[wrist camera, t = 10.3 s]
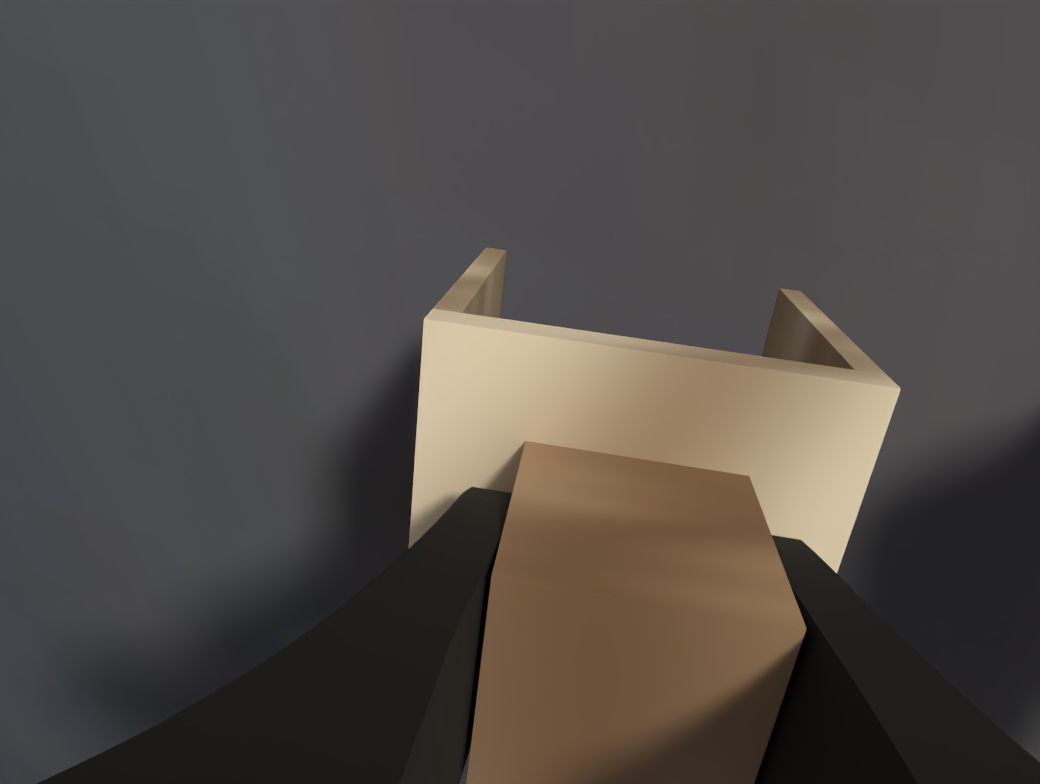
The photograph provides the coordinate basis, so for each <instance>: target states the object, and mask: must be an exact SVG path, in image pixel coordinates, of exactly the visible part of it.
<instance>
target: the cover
mask: <svg viewBox="0 0 1040 784" xmlns="http://www.w3.org/2000/svg"><path fill="white" fill-rule="evenodd" d="M506 252H507V250H500V249H493V248H485V250H484V251H483V252H482V253H481V254H480V255H479V256H478V258H477V259H476V260H475V261H474V262H473V263H472V264H471V266H470V267H469V268H468V269H467V270H466V271H465V272H464V274H463V275H462V276H461V277H460V278H459V279H458V280H457V282H456V283H455V284H454V285H453V286H452V287H451V288H450V290H449V291H448V292H447V293H446V294H445V295H444V296H443V298H442V299H441V300H440V301H439V302H438V303H437V304H436V306H435V307H434V308H433V309H432V310H431V311H430V312H429V314H428V315H427V316H426V317H425V318H424V326H423V341H422V356H421V371H420V386H419V401H418V417H417V432H416V447H415V462H414V477H413V492H412V508H411V523H410V538H409V548H410V547H411V546H412V545H413V544H414V543H415V542H416V541H417V540H419V539H420V538H421V537H422V536H423V535H424V534H425V533H426V532H427V531H428V530H429V529H430V528H431V527H432V526H433V525H434V524H435V523H436V522H437V520H438V519H439V518H440V517H441V516H442V515H443V514H444V513H445V512H446V511H447V510H448V509H449V508H450V507H451V505H452V504H453V503H454V502H455V501H456V500H457V499H458V497H459V496H460V495H461V494H462V493H463V492H464V491H466V490H467V489H469V488H471V487H477V488H483V489H489V490H496V491H502V492H508V493H512V496H511V500H510V504H509V508H508V512H507V516H506V520H505V524H504V528H503V532H502V536H501V540H500V544H499V548H498V552H497V556H496V560H495V564H494V568H493V572H492V576H491V584H490V592H489V601H488V609H487V617H486V625H485V634H484V642H483V650H482V658H481V667H480V675H479V683H478V691H477V700H476V708H475V716H474V725H473V733H472V741H471V749H470V758H469V766H468V774H467V782H466V784H754V783H755V780H756V777H757V774H758V771H759V768H760V765H761V762H762V759H763V756H764V753H765V750H766V747H767V744H768V741H769V738H770V735H771V733H772V730H773V727H774V724H775V721H776V718H777V715H778V712H779V709H780V706H781V703H782V700H783V697H784V694H785V691H786V688H787V685H788V682H789V679H790V676H791V673H792V670H793V668H794V665H795V662H796V659H797V656H798V653H799V650H800V647H801V644H802V641H803V638H804V635H805V632H806V629H807V628H806V626H805V623H804V620H803V618H802V615H801V613H800V610H799V607H798V605H797V602H796V599H795V597H794V594H793V591H792V589H791V586H790V583H789V581H788V578H787V575H786V573H785V570H784V567H783V565H782V562H781V559H780V557H779V554H778V551H777V549H776V546H775V543H774V541H773V538H772V535H775V536H781V537H787V538H793V539H799V540H802V541H803V542H804V543H805V544H806V545H807V546H809V547H810V548H811V549H812V550H813V551H814V552H815V553H816V554H817V555H818V556H819V557H820V558H821V559H822V560H823V561H824V562H826V563H827V564H828V565H829V566H830V567H831V568H832V569H833V570H834V571H835V572H836V573H837V572H838V569H839V566H840V563H841V560H842V557H843V555H844V552H845V549H846V546H847V543H848V540H849V537H850V534H851V531H852V529H853V526H854V523H855V520H856V517H857V514H858V511H859V508H860V505H861V502H862V500H863V497H864V494H865V491H866V488H867V485H868V482H869V479H870V476H871V474H872V471H873V468H874V465H875V462H876V459H877V456H878V453H879V450H880V448H881V445H882V442H883V439H884V436H885V433H886V430H887V427H888V424H889V422H890V419H891V416H892V413H893V410H894V407H895V404H896V401H897V398H898V396H899V393H900V390H901V388H900V387H899V386H898V385H897V384H896V383H894V382H893V381H892V380H891V379H890V378H889V377H888V376H887V375H886V374H885V373H884V372H883V371H882V370H881V369H880V368H879V367H878V366H877V365H876V364H875V363H874V362H873V361H872V360H871V359H870V358H869V357H868V356H867V355H866V354H865V353H864V352H863V351H862V350H861V349H860V348H859V347H858V346H856V345H855V344H854V343H853V342H852V341H851V340H850V339H849V338H848V337H847V336H846V335H845V334H844V333H843V332H842V331H841V330H840V329H839V328H838V327H837V326H836V325H835V324H834V323H833V322H832V321H831V320H830V319H829V318H828V317H827V316H826V315H825V314H824V313H823V312H822V311H821V310H820V309H818V308H817V307H816V306H815V305H814V304H813V303H812V302H811V301H810V300H809V299H808V298H807V297H806V296H805V295H804V294H803V293H802V292H801V291H795V290H788V289H780V288H779V292H778V295H777V299H776V303H775V307H774V311H773V315H772V318H771V322H770V326H769V330H768V334H767V338H766V342H765V345H764V349H763V353H762V356H755V355H748V354H741V353H734V352H728V351H721V350H714V349H707V348H700V347H693V346H686V345H679V344H673V343H666V342H659V341H652V340H645V339H638V338H631V337H624V336H618V335H611V334H604V333H597V332H590V331H583V330H576V329H569V328H562V327H556V326H549V325H542V324H535V323H528V322H521V321H514V320H507V319H501V318H499V316H500V307H501V298H502V289H503V279H504V270H505V261H506Z"/></svg>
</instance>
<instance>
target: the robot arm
mask: <svg viewBox="0 0 1040 784" xmlns="http://www.w3.org/2000/svg"><path fill="white" fill-rule="evenodd" d="M511 496H512V493H508V492H502V491H496V490H489V489H483V488H477V487H471V488H469V489H467V490H466V491H464V492H463V493H462V494H461V495H460V496H459V497H458V499H457V500H456V501H455V502H454V503H453V504H452V505H451V507H450V508H449V509H448V510H447V511H446V512H445V513H444V514H443V515H442V516H441V517H440V518H439V519H438V520H437V522H436V523H435V524H434V525H433V526H432V527H431V528H430V529H429V530H428V531H427V532H426V533H425V534H424V535H423V536H422V537H421V538H420V539H419V540H417V541H416V542H415V543H414V544H413V545H412V546H411V547H410V548H409V549H408V550H407V551H406V552H405V553H403V554H402V555H401V556H400V557H399V558H398V559H397V560H396V561H395V562H394V563H393V564H392V565H390V566H389V567H388V568H387V569H386V570H385V571H384V572H383V573H382V574H380V575H379V576H378V577H377V578H376V579H374V580H373V581H372V582H371V583H370V584H368V585H367V586H366V587H365V588H363V589H362V590H361V591H360V592H359V593H357V594H356V595H355V596H354V597H352V598H351V599H350V600H349V601H347V602H346V603H345V604H344V605H343V606H341V607H340V608H339V609H338V610H336V611H335V612H334V613H333V614H331V615H330V616H329V617H327V618H326V619H325V620H323V621H322V622H321V623H319V624H318V625H317V626H315V627H314V628H312V629H311V630H310V631H308V632H307V633H306V634H304V635H303V636H301V637H300V638H299V639H297V640H296V641H294V642H293V643H291V644H290V645H288V646H287V647H285V648H284V649H282V650H281V651H280V652H278V653H277V654H275V655H274V656H272V657H271V658H269V659H268V660H266V661H265V662H263V663H262V664H260V665H258V666H257V667H255V668H254V669H252V670H251V671H249V672H247V673H246V674H244V675H242V676H241V677H239V678H237V679H236V680H234V681H232V682H231V683H229V684H227V685H226V686H224V687H222V688H221V689H219V690H218V691H216V692H214V693H213V694H211V695H209V696H207V697H206V698H204V699H202V700H200V701H199V702H197V703H195V704H193V705H192V706H190V707H188V708H186V709H185V710H183V711H181V712H179V713H178V714H176V715H174V716H172V717H171V718H169V719H167V720H165V721H164V722H162V723H160V724H158V725H156V726H154V727H152V728H150V729H148V730H146V731H144V732H142V733H140V734H138V735H136V736H134V737H132V738H131V739H129V740H127V741H125V742H123V743H121V744H119V745H117V746H115V747H113V748H111V749H109V750H107V751H105V752H103V753H101V754H99V755H97V756H95V757H92V758H90V759H88V760H86V761H84V762H82V763H80V764H78V765H75V766H73V767H71V768H69V769H67V770H65V771H63V772H61V773H59V774H56V775H54V776H52V777H50V778H48V779H46V780H44V781H42V782H39V783H37V784H459V782H460V779H461V776H462V772H463V769H464V766H465V763H466V759H467V756H468V753H469V749H470V746H471V741H472V733H473V725H474V716H475V708H476V700H477V691H478V683H479V675H480V667H481V658H482V650H483V642H484V634H485V625H486V617H487V609H488V601H489V592H490V584H491V576H492V572H493V568H494V564H495V560H496V556H497V552H498V548H499V544H500V540H501V536H502V532H503V528H504V524H505V520H506V516H507V512H508V508H509V504H510V500H511ZM772 538H773V541H774V543H775V546H776V549H777V551H778V554H779V557H780V559H781V562H782V565H783V567H784V570H785V573H786V575H787V578H788V581H789V583H790V586H791V589H792V591H793V594H794V597H795V599H796V602H797V605H798V607H799V610H800V613H801V615H802V618H803V620H804V623H805V626H806V628H807V629H806V632H805V635H804V638H803V641H802V644H801V647H800V650H799V653H798V656H797V659H796V662H795V665H794V668H793V670H792V673H791V676H790V679H789V682H788V685H787V688H786V691H785V694H784V697H783V700H782V703H781V706H780V709H779V712H778V715H777V718H776V721H775V724H774V727H773V730H772V733H771V735H770V738H769V741H768V744H767V747H766V750H765V753H764V756H763V759H762V762H761V765H760V768H759V771H758V774H757V777H756V780H755V783H754V784H1040V762H1038V761H1037V760H1036V759H1035V758H1034V757H1032V756H1031V755H1030V754H1029V753H1028V752H1026V751H1025V750H1024V749H1023V748H1022V747H1020V746H1019V745H1018V744H1017V743H1016V742H1015V741H1013V740H1012V739H1011V738H1010V737H1009V736H1007V735H1006V734H1005V733H1004V732H1003V731H1002V730H1001V729H1000V728H998V727H997V726H996V725H995V724H994V723H993V722H992V721H991V720H989V719H988V718H987V717H986V716H985V715H984V714H983V713H982V712H980V711H979V710H978V709H977V708H976V707H975V706H974V705H972V704H971V703H970V702H969V701H968V700H967V699H966V698H965V697H963V696H962V695H961V694H960V693H959V692H958V691H957V690H956V689H954V688H953V687H952V686H951V685H950V684H949V683H948V682H947V681H946V680H945V679H944V678H943V677H942V676H941V675H939V674H938V673H937V672H936V671H935V670H934V669H933V668H932V667H931V666H930V665H929V664H928V663H927V662H926V661H925V660H923V659H922V658H921V657H920V656H919V655H918V654H917V653H916V652H915V651H914V650H913V649H912V648H911V647H910V646H909V645H908V644H907V643H906V642H905V641H904V640H903V639H902V638H901V637H900V636H899V635H898V634H897V633H896V632H895V631H893V630H892V629H891V628H890V627H889V626H888V625H887V624H886V623H885V622H884V621H883V620H882V619H881V618H880V617H879V616H878V615H877V614H876V613H875V612H874V611H873V610H872V609H871V608H870V607H869V606H868V605H867V604H866V603H865V602H864V601H863V600H862V599H861V598H860V597H859V596H858V595H857V594H856V593H855V592H854V591H853V590H852V589H851V588H850V587H849V586H848V584H847V583H846V582H845V581H844V580H843V579H842V578H841V577H840V576H839V575H838V574H837V573H836V572H835V571H834V570H833V569H832V568H831V567H830V566H829V565H828V564H827V563H826V562H824V561H823V560H822V559H821V558H820V557H819V556H818V555H817V554H816V553H815V552H814V551H813V550H812V549H811V548H810V547H809V546H807V545H806V544H805V543H804V542H803V541H802V540H799V539H793V538H787V537H781V536H775V535H772Z"/></svg>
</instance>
